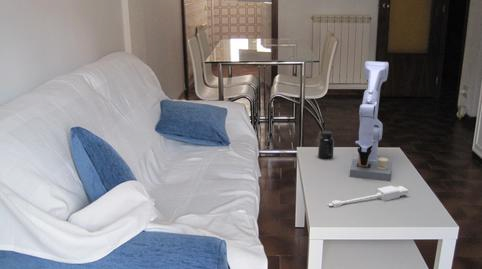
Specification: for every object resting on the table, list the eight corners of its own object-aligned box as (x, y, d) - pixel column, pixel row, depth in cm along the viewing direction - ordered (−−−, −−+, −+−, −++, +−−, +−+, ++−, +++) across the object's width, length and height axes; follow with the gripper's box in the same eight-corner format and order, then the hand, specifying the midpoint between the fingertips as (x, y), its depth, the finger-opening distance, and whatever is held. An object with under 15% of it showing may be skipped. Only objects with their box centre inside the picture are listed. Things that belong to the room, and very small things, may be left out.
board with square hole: (352, 165, 216) (353, 150, 214) (390, 169, 211) (392, 153, 209) (349, 176, 203) (350, 160, 201) (389, 180, 198) (391, 164, 196)
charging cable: (325, 206, 178) (325, 198, 177) (400, 191, 188) (400, 183, 187) (332, 212, 173) (332, 203, 172) (408, 196, 183) (409, 188, 182)
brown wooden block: (358, 166, 210) (359, 151, 208) (368, 167, 209) (369, 152, 207) (357, 170, 206) (358, 154, 204) (367, 171, 205) (368, 155, 203)
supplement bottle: (315, 156, 227) (316, 131, 224) (327, 153, 230) (328, 129, 227) (323, 160, 222) (324, 135, 218) (336, 158, 224) (337, 133, 221)
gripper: (358, 126, 211) (355, 156, 215) (354, 136, 197) (352, 167, 201) (374, 128, 209) (372, 158, 212) (373, 137, 195) (370, 169, 199)
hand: (363, 163), depth 207 cm, fingers closed on brown wooden block, 4 cm apart
